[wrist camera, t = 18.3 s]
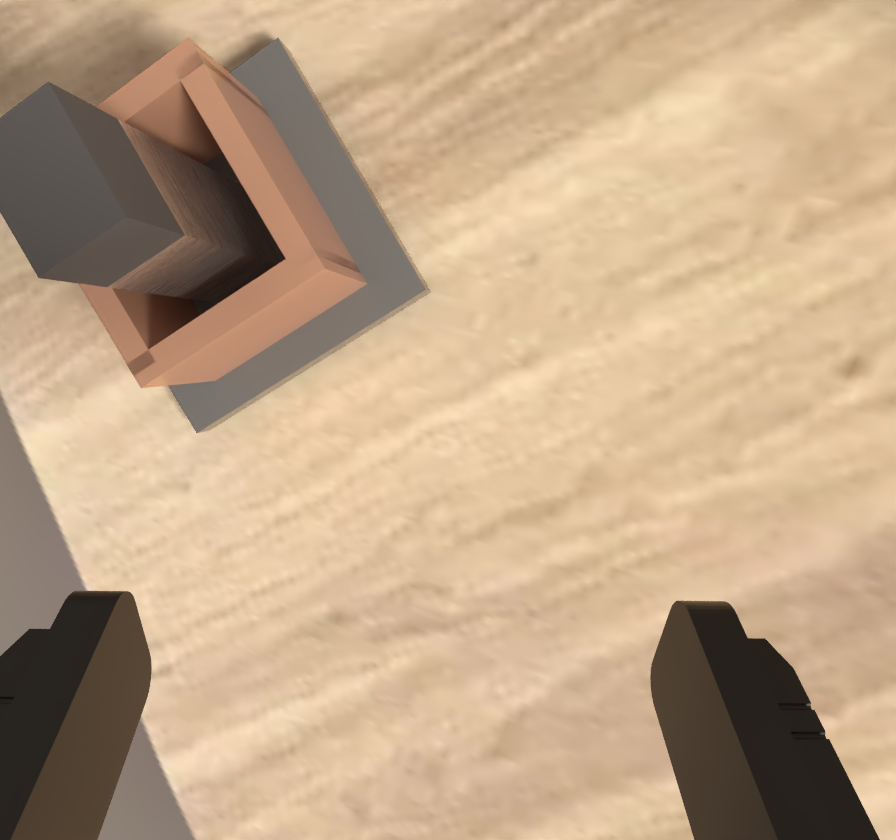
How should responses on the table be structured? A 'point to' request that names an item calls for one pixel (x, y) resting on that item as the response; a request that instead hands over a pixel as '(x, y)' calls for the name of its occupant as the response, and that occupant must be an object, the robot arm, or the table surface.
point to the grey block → (123, 205)
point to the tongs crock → (287, 218)
